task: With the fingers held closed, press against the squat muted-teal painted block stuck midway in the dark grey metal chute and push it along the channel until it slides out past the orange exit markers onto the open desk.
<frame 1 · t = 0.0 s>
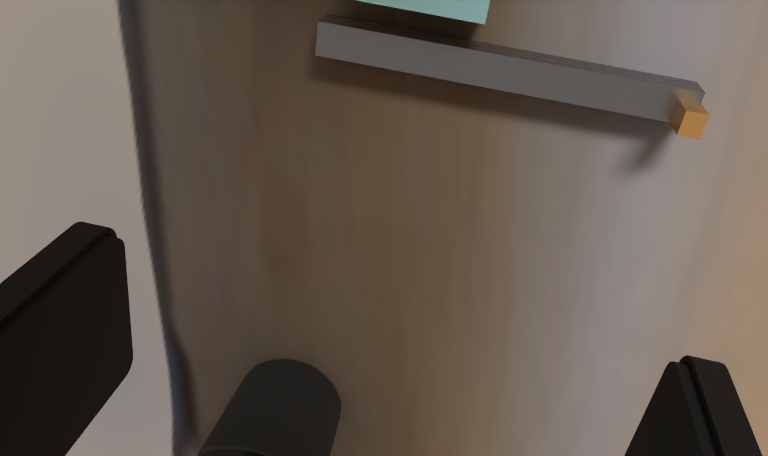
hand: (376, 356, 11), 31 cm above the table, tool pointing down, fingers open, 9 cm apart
pen holder: (293, 394, 56), on the table
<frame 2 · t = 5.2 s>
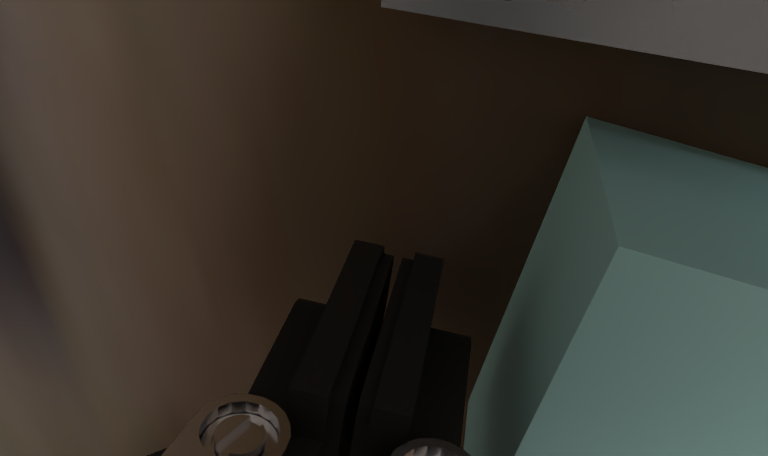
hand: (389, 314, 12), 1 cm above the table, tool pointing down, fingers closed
block: (690, 325, 13), on the table
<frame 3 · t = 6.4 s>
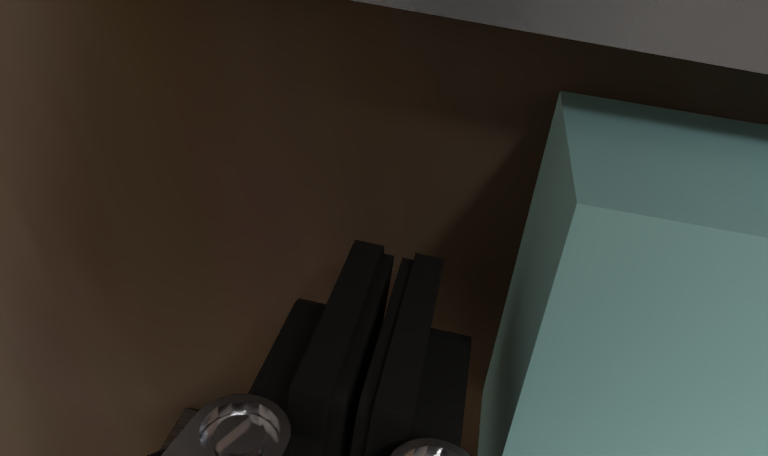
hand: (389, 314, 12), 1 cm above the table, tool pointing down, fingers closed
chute: (713, 336, 13), on the table
block: (695, 289, 13), on the table
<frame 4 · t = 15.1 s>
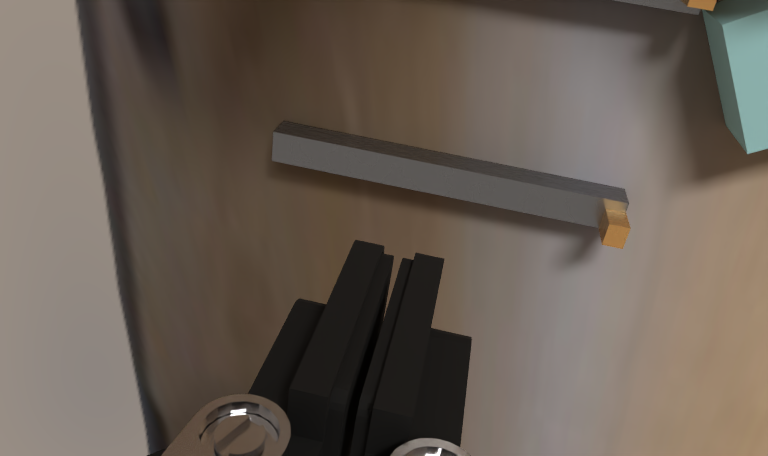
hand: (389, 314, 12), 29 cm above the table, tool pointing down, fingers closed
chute: (467, 69, 39), on the table
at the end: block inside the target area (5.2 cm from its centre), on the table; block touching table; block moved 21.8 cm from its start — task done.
